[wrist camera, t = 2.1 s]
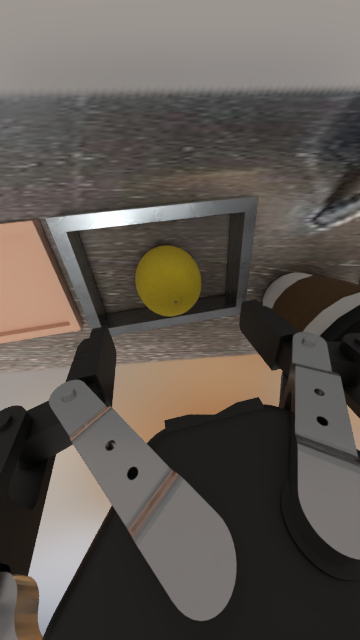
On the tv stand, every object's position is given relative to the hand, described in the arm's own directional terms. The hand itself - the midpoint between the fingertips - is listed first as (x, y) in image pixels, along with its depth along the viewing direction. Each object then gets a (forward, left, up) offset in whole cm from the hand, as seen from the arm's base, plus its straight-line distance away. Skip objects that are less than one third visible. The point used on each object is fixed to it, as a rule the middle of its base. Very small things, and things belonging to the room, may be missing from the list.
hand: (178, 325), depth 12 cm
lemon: (0, 0, -11) cm, 11 cm away
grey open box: (0, 0, -11) cm, 11 cm away
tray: (+15, 0, -11) cm, 18 cm away
